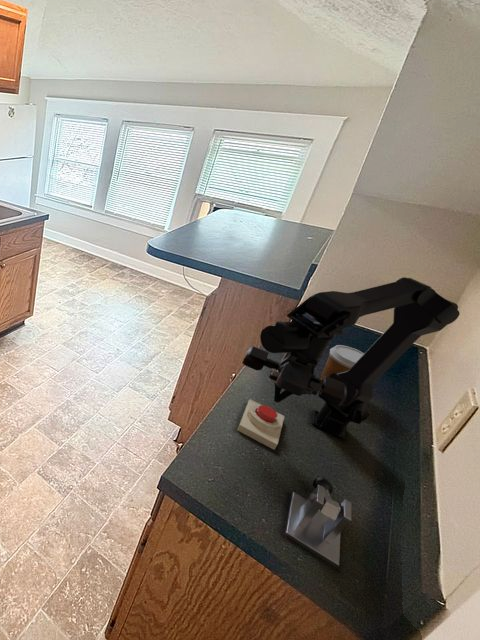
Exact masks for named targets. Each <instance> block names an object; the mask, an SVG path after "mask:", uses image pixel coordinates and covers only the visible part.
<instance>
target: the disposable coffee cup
mask: <svg viewBox="0 0 480 640" xmlns="http://www.w3.org/2000/svg"><path fill="white" fill-rule="evenodd" d="M364 354H365V352H362V351H360V350H359V349H356V348H354V347H351V346H348V345H343V344H336V345H335V346H333V347H331V348H330V349H329V355H328V358H327V360H326V361H325V362H326V363H325V365H324V368H323V370H322V372H321V375H320V377H319V379H320V380H322V379H323V378H324V377H325V376H328V377H329V376H330V375H331V374H333V373H336V374H338V373H342V372H347V371H348V370H349V369H350V368H351V367H352V366H353V365H354V364H355V363H356V362H357V361H358V360H359V359H360V358H361V357H362V356H363V355H364Z"/></svg>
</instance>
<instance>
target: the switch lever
mask: <svg viewBox="0 0 480 640" xmlns="http://www.w3.org/2000/svg"><path fill="white" fill-rule="evenodd" d="M318 485H320V486H322V487H324V488H325V492H324V503H323V506H322V507H321V508H320V512H321V513H323V514H324V515H326V516H328V517H329V518H331V519H333V520H335V519H336V518H337V516H338V514H339V512H340V511H341V508H340V503H339V502H338V501H336V500H334V499H332V497H331V494H332V493H333V492H334V486H333V484H332V483H331V482H330V480H329V479H327V478H325V477H318V476H317V477H315V478H313V480H312V487H313V489H314V490H315V489H316V487H317V486H318Z"/></svg>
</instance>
